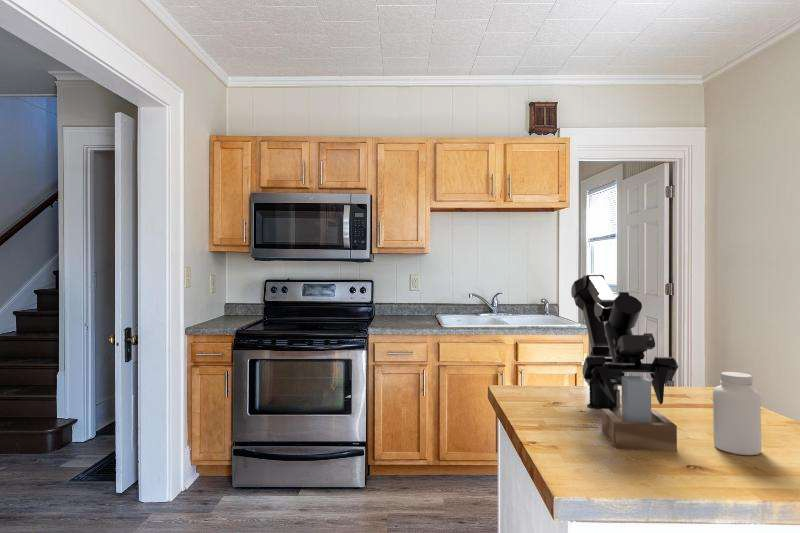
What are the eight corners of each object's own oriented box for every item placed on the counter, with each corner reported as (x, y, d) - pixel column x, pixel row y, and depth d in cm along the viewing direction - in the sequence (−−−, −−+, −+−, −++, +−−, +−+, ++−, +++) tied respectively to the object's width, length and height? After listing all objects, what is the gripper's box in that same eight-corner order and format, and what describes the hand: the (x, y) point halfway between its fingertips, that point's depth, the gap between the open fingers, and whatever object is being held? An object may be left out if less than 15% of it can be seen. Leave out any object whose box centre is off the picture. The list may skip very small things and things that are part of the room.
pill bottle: (753, 444, 101) (752, 371, 101) (767, 458, 94) (767, 379, 94) (708, 440, 104) (708, 369, 104) (719, 453, 96) (718, 377, 97)
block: (622, 435, 107) (621, 375, 107) (644, 436, 107) (643, 376, 107) (628, 443, 103) (627, 380, 103) (651, 444, 102) (651, 381, 102)
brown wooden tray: (601, 431, 110) (601, 408, 110) (656, 432, 109) (656, 410, 109) (616, 448, 100) (616, 423, 100) (677, 450, 98) (676, 425, 98)
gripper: (584, 319, 110) (598, 380, 99) (674, 320, 108) (698, 382, 97) (577, 349, 118) (589, 409, 107) (660, 350, 115) (681, 411, 104)
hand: (638, 402), depth 103 cm, fingers open, 9 cm apart
